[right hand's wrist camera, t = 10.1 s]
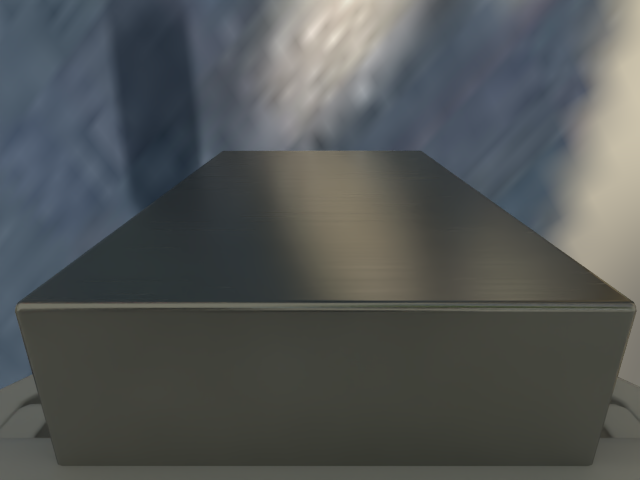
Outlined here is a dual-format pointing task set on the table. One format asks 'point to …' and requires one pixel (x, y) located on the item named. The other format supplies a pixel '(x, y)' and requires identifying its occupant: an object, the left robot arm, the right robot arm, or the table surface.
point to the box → (324, 325)
